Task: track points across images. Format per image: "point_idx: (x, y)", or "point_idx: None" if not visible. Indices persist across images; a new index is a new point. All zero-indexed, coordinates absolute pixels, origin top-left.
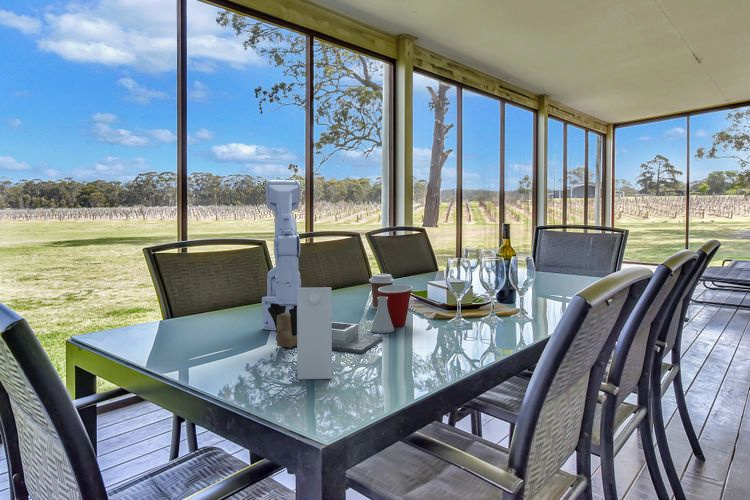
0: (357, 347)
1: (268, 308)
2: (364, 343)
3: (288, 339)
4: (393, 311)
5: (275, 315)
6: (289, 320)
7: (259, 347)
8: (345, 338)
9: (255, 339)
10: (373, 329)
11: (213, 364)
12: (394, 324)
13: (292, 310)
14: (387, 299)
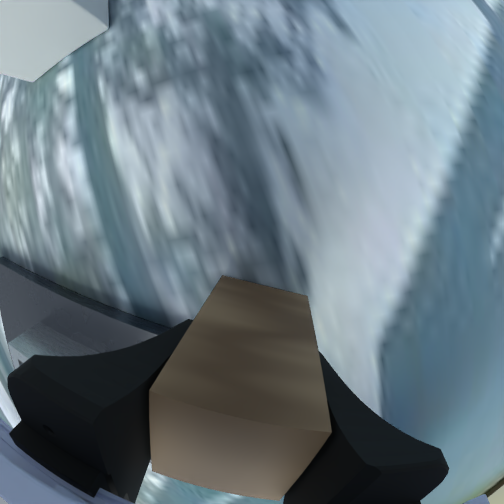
0: (6, 285)
1: (444, 467)
2: (13, 329)
3: (225, 294)
4: None
5: (347, 429)
6: (175, 368)
7: (396, 291)
8: (27, 332)
9: (426, 391)
10: None
11: (457, 37)
12: None
13: (47, 389)
14: None
